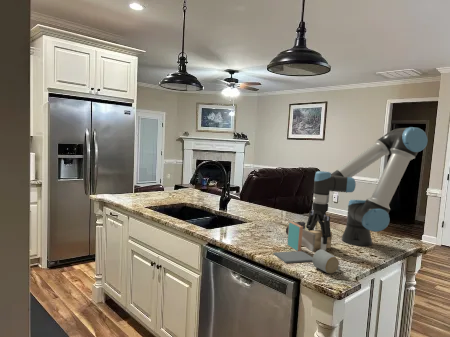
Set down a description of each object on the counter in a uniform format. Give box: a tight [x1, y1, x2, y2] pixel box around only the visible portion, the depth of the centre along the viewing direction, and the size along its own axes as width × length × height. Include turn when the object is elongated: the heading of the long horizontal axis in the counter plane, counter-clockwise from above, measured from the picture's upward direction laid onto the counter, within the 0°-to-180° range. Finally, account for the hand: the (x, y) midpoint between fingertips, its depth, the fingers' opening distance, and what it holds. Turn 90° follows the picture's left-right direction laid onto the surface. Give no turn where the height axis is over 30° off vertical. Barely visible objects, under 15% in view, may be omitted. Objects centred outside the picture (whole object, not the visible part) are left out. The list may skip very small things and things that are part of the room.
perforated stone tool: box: [285, 221, 306, 236], centre depth 183 cm, size 15×5×7 cm, turn 123°
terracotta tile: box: [286, 221, 303, 251], centre depth 157 cm, size 2×10×12 cm, turn 19°
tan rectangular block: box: [301, 228, 333, 252], centre depth 162 cm, size 13×10×8 cm
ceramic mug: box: [312, 249, 341, 274], centre depth 131 cm, size 11×8×8 cm
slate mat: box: [272, 250, 313, 264], centre depth 144 cm, size 15×11×1 cm
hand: (316, 246), depth 162 cm, fingers open, 10 cm apart
